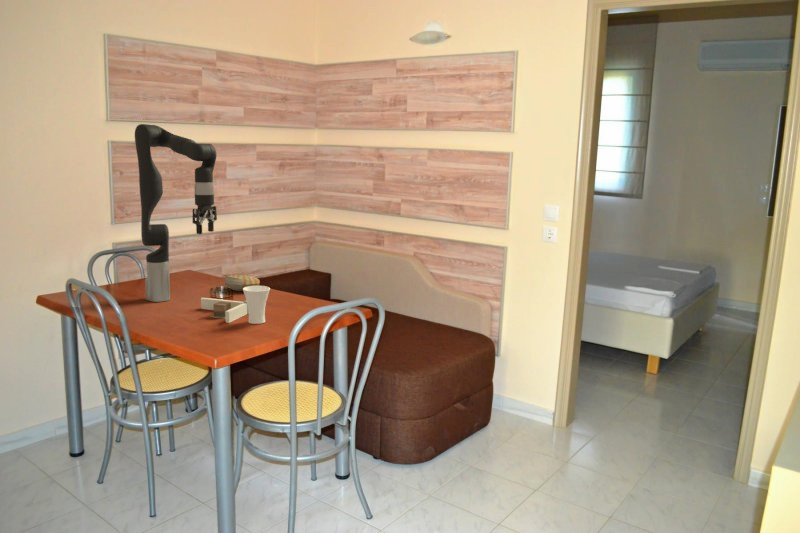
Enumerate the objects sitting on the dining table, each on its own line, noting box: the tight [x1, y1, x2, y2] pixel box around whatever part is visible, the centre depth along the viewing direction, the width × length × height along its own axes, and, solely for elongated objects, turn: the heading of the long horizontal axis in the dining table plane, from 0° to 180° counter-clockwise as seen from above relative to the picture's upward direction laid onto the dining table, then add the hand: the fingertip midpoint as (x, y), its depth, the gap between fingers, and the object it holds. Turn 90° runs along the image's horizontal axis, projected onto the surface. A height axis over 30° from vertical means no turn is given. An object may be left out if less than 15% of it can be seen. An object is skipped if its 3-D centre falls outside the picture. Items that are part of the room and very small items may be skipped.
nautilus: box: [222, 273, 261, 292], centre depth 314 cm, size 8×22×15 cm
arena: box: [200, 297, 249, 324], centre depth 268 cm, size 22×16×5 cm
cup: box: [242, 285, 271, 325], centre depth 259 cm, size 10×10×14 cm
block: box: [213, 301, 231, 317], centre depth 267 cm, size 5×5×5 cm
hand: (205, 232), depth 273 cm, fingers open, 8 cm apart
